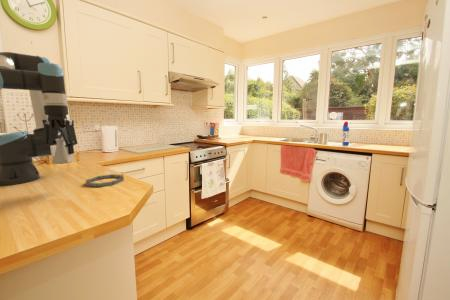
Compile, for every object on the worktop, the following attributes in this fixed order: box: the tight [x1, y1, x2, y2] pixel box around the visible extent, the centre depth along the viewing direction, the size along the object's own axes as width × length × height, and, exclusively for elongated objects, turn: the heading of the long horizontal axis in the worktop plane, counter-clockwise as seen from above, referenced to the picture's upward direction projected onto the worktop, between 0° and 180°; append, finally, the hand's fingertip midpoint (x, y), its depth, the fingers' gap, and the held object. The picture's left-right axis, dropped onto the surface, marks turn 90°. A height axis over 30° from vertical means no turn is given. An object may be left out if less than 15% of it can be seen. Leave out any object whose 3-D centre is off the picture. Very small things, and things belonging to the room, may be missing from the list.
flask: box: [51, 138, 75, 165], centre depth 87 cm, size 7×7×10 cm
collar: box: [85, 173, 125, 188], centre depth 98 cm, size 15×15×2 cm
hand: (63, 161), depth 88 cm, fingers closed on flask, 7 cm apart
